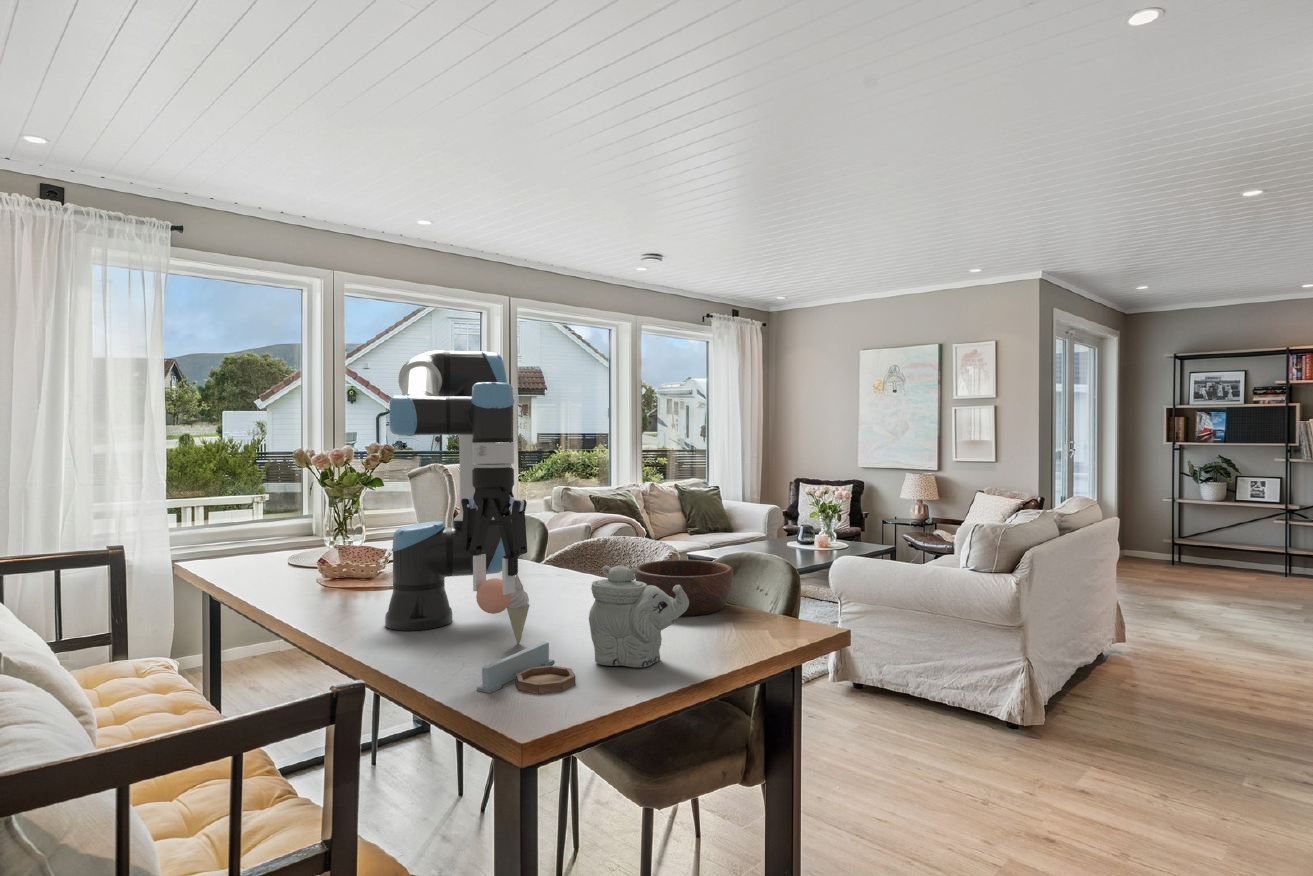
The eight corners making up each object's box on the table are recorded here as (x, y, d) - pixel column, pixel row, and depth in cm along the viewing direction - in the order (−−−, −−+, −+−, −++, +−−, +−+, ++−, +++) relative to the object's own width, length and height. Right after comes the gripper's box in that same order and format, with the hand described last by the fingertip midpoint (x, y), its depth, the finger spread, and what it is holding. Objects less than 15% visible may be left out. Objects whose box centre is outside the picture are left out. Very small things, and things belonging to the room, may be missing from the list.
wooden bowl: (614, 611, 190) (614, 570, 190) (670, 593, 211) (670, 556, 211) (700, 625, 176) (699, 580, 176) (750, 604, 197) (750, 564, 197)
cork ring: (505, 687, 133) (505, 678, 133) (539, 671, 142) (539, 663, 142) (552, 696, 129) (552, 687, 129) (584, 679, 137) (584, 670, 137)
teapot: (692, 666, 145) (691, 567, 145) (625, 681, 136) (625, 576, 136) (644, 646, 158) (643, 556, 158) (580, 659, 150) (580, 563, 150)
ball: (468, 614, 139) (469, 579, 139) (491, 607, 144) (492, 574, 144) (495, 619, 136) (496, 583, 136) (518, 612, 141) (519, 577, 141)
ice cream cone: (507, 641, 163) (506, 571, 163) (531, 640, 163) (530, 570, 163) (504, 647, 158) (504, 575, 158) (529, 647, 158) (528, 575, 158)
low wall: (476, 690, 132) (476, 667, 132) (541, 660, 148) (541, 640, 148) (490, 693, 130) (490, 669, 130) (554, 663, 147) (554, 642, 147)
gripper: (439, 466, 141) (440, 590, 141) (521, 467, 132) (522, 600, 132) (467, 465, 148) (468, 583, 148) (547, 466, 139) (548, 592, 139)
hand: (494, 591), depth 140 cm, fingers closed on ball, 6 cm apart
